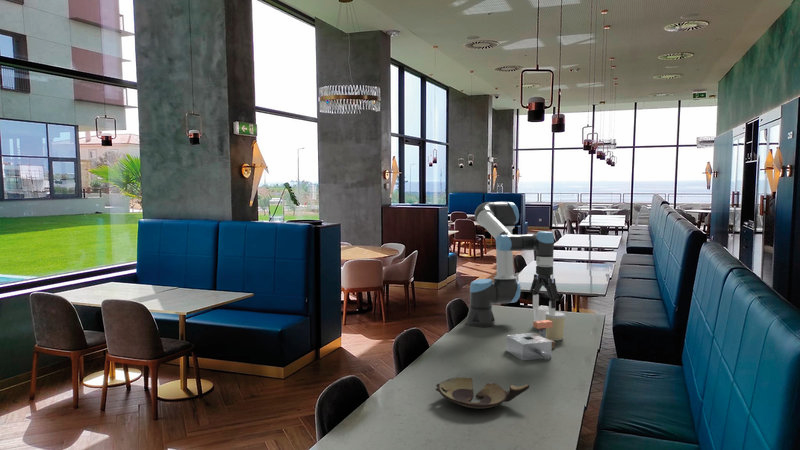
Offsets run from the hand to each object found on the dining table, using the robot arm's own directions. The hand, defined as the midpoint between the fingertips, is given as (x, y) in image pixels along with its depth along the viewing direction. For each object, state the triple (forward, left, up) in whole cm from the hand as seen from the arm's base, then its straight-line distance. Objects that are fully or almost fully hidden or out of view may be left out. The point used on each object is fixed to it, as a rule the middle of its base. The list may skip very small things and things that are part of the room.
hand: (543, 311), depth 245 cm
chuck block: (+12, -12, -16) cm, 24 cm away
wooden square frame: (0, 0, -16) cm, 16 cm away
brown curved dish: (+51, -56, -16) cm, 77 cm away
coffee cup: (-10, +13, -16) cm, 23 cm away
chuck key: (0, 0, -16) cm, 16 cm away
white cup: (-30, +18, -16) cm, 39 cm away
